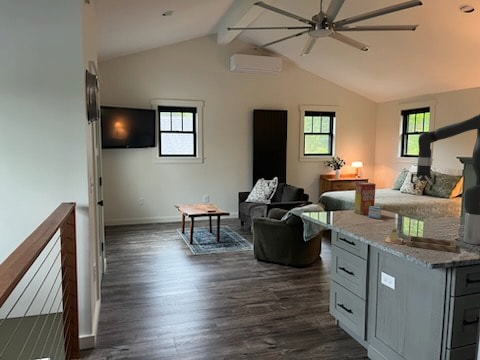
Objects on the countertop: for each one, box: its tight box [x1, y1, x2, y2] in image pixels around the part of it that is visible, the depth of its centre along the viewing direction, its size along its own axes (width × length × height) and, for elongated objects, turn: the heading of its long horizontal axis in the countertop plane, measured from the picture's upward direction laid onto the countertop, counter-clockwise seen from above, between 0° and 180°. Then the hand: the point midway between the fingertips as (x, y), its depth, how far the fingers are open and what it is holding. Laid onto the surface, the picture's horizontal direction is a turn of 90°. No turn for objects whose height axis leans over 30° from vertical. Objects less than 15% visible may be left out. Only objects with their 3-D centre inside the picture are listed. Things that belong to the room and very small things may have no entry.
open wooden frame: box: [406, 235, 457, 253], centre depth 203 cm, size 24×15×2 cm, turn 62°
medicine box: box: [368, 206, 382, 220], centre depth 278 cm, size 8×4×9 cm, turn 47°
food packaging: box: [353, 182, 376, 216], centre depth 295 cm, size 13×9×25 cm
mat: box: [384, 236, 404, 245], centre depth 212 cm, size 9×12×1 cm
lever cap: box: [389, 228, 400, 242], centre depth 212 cm, size 4×7×6 cm, turn 152°
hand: (422, 190), depth 225 cm, fingers open, 8 cm apart
